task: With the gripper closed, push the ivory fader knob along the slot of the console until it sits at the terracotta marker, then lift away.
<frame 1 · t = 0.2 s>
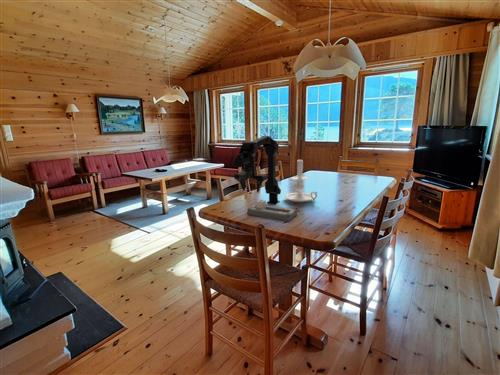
hand: (250, 191, 154), 13 cm above the table, fingers open, 9 cm apart
fader knob: (261, 205, 157), point 5 cm above the table, slide at -7.0 cm
candlestick: (301, 201, 178), on the table
console: (271, 214, 155), on the table
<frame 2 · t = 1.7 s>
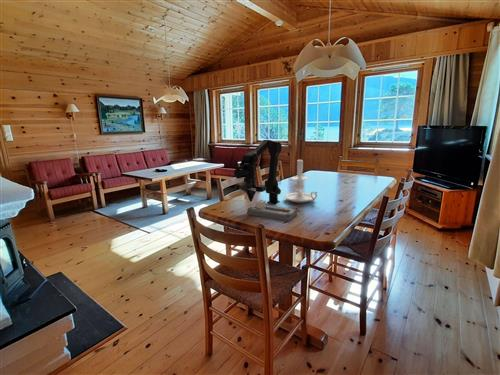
hand: (250, 201, 160), 6 cm above the table, fingers closed
nothing on the table moved.
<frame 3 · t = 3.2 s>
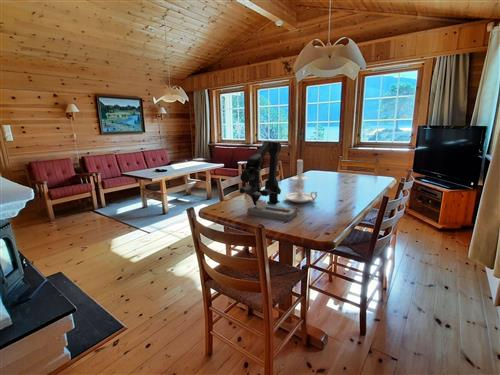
hand: (255, 205, 159), 4 cm above the table, fingers closed
fader knob: (261, 205, 157), point 5 cm above the table, slide at -6.9 cm, touching gripper
everything else where it was.
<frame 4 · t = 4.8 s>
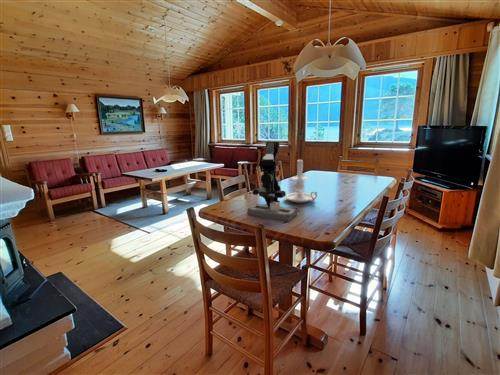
hand: (268, 207, 154), 4 cm above the table, fingers closed
fader knob: (275, 207, 152), point 5 cm above the table, slide at 2.1 cm, touching gripper
everything else where it was.
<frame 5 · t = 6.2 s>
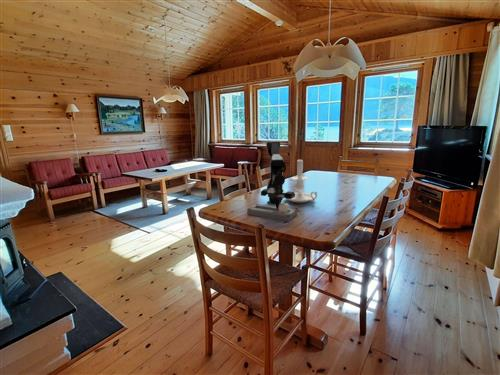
hand: (277, 208, 152), 4 cm above the table, fingers closed
fader knob: (283, 208, 150), point 5 cm above the table, slide at 7.6 cm, touching gripper
everything else where it was.
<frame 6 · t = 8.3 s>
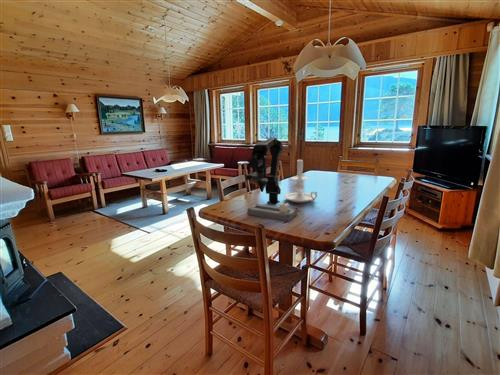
hand: (262, 191, 159), 12 cm above the table, fingers closed
fader knob: (284, 208, 149), point 5 cm above the table, slide at 7.8 cm
everything else where it was.
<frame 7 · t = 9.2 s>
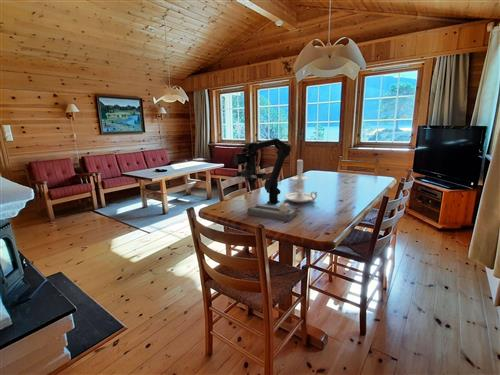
hand: (251, 188, 168), 12 cm above the table, fingers closed
nothing on the table moved.
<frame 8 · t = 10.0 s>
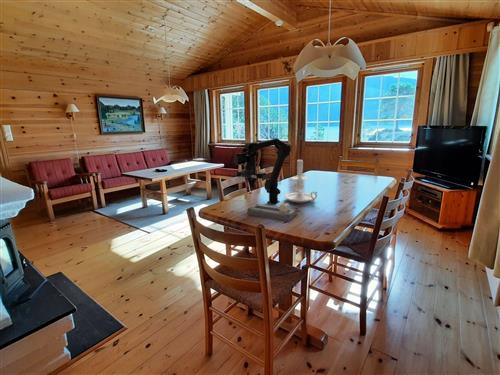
hand: (251, 188, 168), 12 cm above the table, fingers closed
nothing on the table moved.
at the end: fader knob slide at 7.8 cm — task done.
